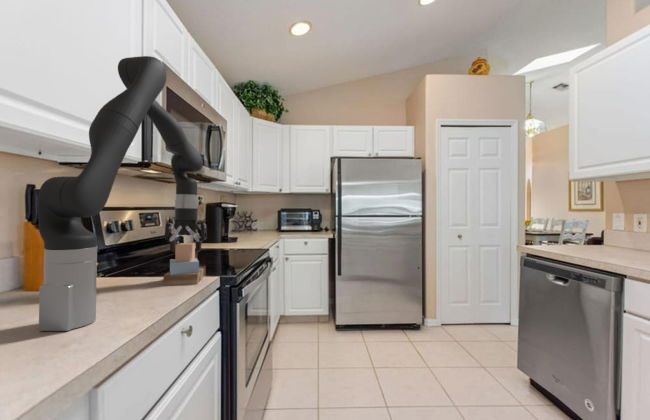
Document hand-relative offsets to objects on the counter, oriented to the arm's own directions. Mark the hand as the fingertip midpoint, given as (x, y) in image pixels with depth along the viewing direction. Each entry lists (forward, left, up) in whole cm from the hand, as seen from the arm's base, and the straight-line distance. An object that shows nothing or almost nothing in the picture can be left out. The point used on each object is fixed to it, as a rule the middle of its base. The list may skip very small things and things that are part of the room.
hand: (185, 251), depth 111 cm
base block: (0, 0, -11) cm, 11 cm away
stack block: (0, 0, -3) cm, 3 cm away
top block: (0, 0, -7) cm, 7 cm away
